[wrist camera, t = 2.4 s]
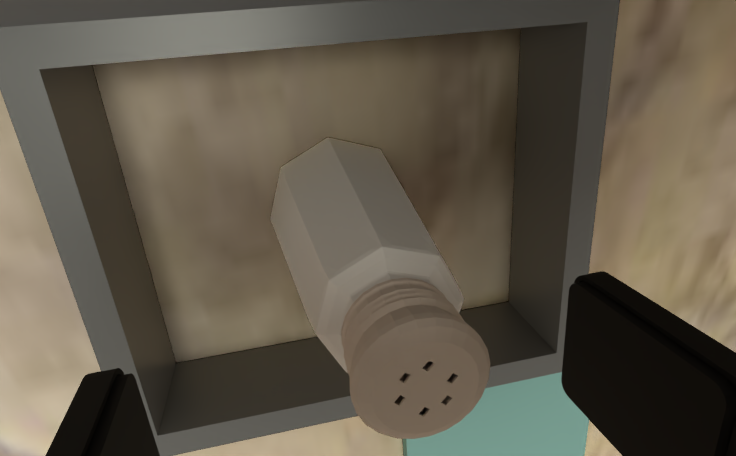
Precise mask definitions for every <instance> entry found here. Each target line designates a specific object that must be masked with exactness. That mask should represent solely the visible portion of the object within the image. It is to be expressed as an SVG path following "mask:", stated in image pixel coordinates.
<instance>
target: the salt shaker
mask: <svg viewBox="0 0 736 456" xmlns="http://www.w3.org/2000/svg"><path fill="white" fill-rule="evenodd" d="M270 220H271V222H272V225H273V228H274V230H275V233H276V236H277V238H278V241H279V244H280V246H281V249H282V252H283V254H284V257H285V259H286V262H287V265H288V267H289V270H290V273H291V275H292V278H293V281H294V283H295V286H296V289H297V291H298V294H299V297H300V299H301V302H302V304H303V307H304V310H305V312H306V315H307V318H308V320H309V322H310V324H311V326H312V328H313V330H314V332H315V334H316V335H317V337H318V338H319V339H320V340H321V342H322V343H323V344H324V345H325V347H326V348H327V349H328V350H329V352H330V353H331V354H332V355H333V357H334V358H335V359H336V360H337V362H338V363H339V364H340V365H341V367H342V368H343V369H344V370H345V371H346V372H347V373H348V374H349V377H350V396H351V400H352V403H353V406H354V408H355V411H356V413H357V415H358V416H359V417H360V418H361V419H362V421H363V422H364V423H365V424H366V425H367V426H369V427H371V428H372V429H374V430H375V431H377V432H379V433H381V434H385V435H388V436H391V437H395V438H402V439H417V438H423V437H428V436H432V435H435V434H437V433H440V432H442V431H445V430H447V429H449V428H450V427H452V426H453V425H455V424H457V423H458V422H460V421H461V420H462V419H463V418H464V417H465V416H466V415H468V414H469V413H470V412H471V411H472V410H473V408H474V407H475V406H476V404H477V403H478V401H479V400H480V399H481V397H482V395H483V392H484V390H485V387H486V385H487V382H488V379H489V372H490V358H489V353H488V349H487V347H486V345H485V344H484V342H483V340H482V338H481V337H480V335H479V334H478V333H477V332H476V331H475V330H474V329H473V328H472V327H471V326H469V325H468V324H467V323H466V322H465V321H464V320H463V318H462V316H461V315H460V314H459V312H460V310H461V307H462V304H463V301H464V297H463V295H462V293H461V290H460V288H459V286H458V284H457V282H456V280H455V279H454V277H453V275H452V273H451V272H450V270H449V268H448V266H447V264H446V263H445V261H444V259H443V257H442V256H441V254H440V252H439V250H438V249H437V247H436V245H435V243H434V242H433V240H432V238H431V236H430V235H429V233H428V231H427V229H426V228H425V226H424V224H423V222H422V221H421V219H420V217H419V215H418V214H417V212H416V210H415V208H414V206H413V205H412V203H411V201H410V199H409V198H408V196H407V194H406V192H405V191H404V189H403V187H402V186H401V184H400V182H399V180H398V179H397V177H396V175H395V173H394V172H393V170H392V168H391V167H390V165H389V163H388V161H387V160H386V158H385V156H384V154H383V153H382V151H381V149H378V148H374V147H370V146H365V145H361V144H356V143H352V142H347V141H343V140H338V139H334V138H329V137H327V138H326V139H324V140H323V141H321V142H319V143H318V144H316V145H315V146H313V147H312V148H310V149H308V150H307V151H305V152H304V153H302V154H301V155H299V156H297V157H296V158H294V159H293V160H291V161H290V162H288V163H286V164H285V165H283V166H282V167H281V168H280V173H279V177H278V182H277V187H276V192H275V197H274V202H273V207H272V212H271V217H270Z"/></svg>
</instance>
